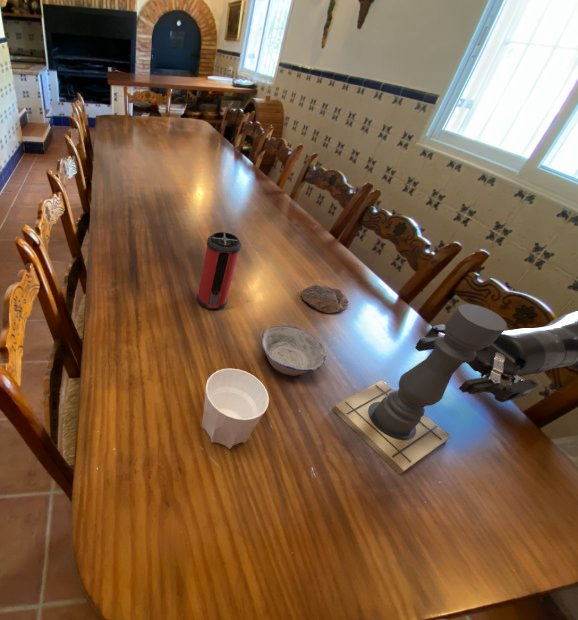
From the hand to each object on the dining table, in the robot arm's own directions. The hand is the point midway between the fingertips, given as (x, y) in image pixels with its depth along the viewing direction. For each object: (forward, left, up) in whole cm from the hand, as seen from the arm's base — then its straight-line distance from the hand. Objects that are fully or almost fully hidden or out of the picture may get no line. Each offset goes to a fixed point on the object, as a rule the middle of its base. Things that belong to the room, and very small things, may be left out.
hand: (440, 365), depth 56 cm
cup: (+13, +28, -17) cm, 35 cm away
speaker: (+44, +9, -17) cm, 48 cm away
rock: (+32, -19, -17) cm, 41 cm away
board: (0, 0, -16) cm, 17 cm away
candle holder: (0, 0, -15) cm, 15 cm away
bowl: (+20, +6, -17) cm, 27 cm away
